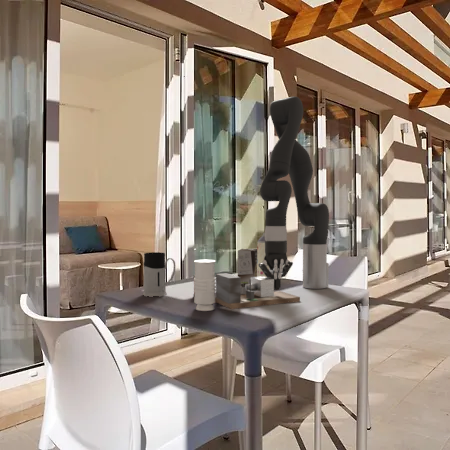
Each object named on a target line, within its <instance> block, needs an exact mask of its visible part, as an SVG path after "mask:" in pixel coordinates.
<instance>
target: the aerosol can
mask: <svg viewBox="0 0 450 450" xmlns="http://www.w3.org/2000/svg"><path fill="white" fill-rule="evenodd" d="M256 249H257V277H260V276H264V277H266V275H265V274H264V272H263V271H262V270H261V268H260V267H259V263H262V262H263V261H264V257H265V232H263V233H262V235H261V237H259V239H257V248H256ZM267 268H268V270H269V267H268V265H267ZM268 278H269V277H268Z"/></svg>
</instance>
